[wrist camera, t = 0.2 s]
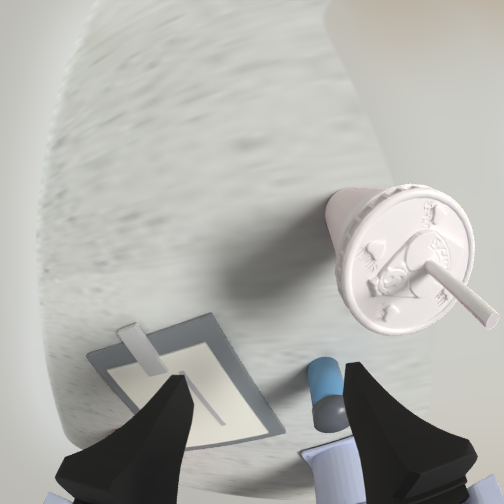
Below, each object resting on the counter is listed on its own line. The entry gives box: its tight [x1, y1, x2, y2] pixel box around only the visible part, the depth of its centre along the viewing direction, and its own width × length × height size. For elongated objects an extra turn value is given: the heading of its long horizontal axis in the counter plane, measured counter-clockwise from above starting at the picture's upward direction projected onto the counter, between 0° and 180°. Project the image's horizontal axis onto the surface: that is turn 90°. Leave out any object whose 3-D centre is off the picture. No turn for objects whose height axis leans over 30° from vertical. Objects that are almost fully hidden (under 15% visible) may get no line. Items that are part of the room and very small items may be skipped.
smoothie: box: [325, 183, 499, 336], centre depth 13 cm, size 6×6×14 cm
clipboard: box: [86, 313, 286, 451], centre depth 25 cm, size 18×14×1 cm
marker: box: [307, 357, 350, 433], centre depth 21 cm, size 3×3×6 cm
